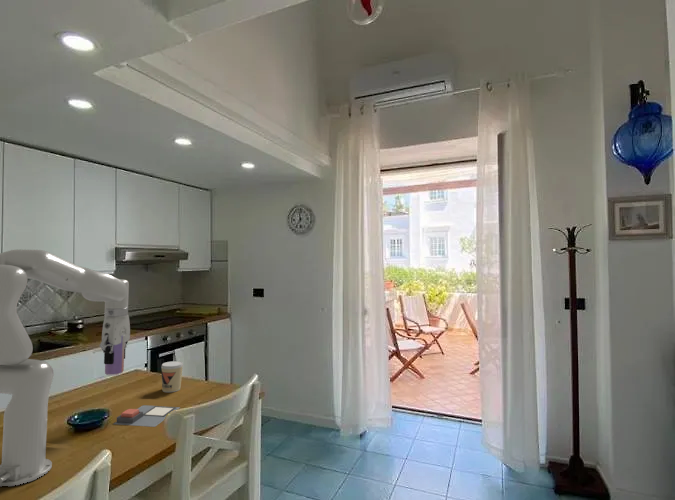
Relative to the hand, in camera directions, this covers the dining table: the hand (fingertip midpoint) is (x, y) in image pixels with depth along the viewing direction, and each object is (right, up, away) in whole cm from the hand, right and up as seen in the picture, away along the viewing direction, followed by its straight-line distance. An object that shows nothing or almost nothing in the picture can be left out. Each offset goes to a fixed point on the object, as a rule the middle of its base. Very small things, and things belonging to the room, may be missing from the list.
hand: (114, 361), depth 139 cm
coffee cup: (+5, -24, +36) cm, 44 cm away
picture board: (+10, -23, +5) cm, 26 cm away
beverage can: (0, -5, 0) cm, 5 cm away
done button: (+5, -22, +1) cm, 23 cm away
